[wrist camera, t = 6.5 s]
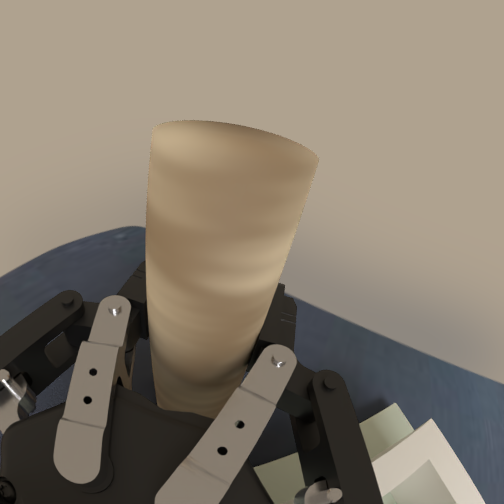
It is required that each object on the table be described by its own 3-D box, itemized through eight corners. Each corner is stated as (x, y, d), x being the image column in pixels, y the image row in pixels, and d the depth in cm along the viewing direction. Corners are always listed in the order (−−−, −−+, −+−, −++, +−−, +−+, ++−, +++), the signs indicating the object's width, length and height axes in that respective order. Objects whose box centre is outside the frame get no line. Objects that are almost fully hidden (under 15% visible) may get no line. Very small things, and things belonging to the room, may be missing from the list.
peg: (214, 376, 18) (274, 129, 10) (236, 432, 15) (352, 176, 6) (152, 385, 16) (149, 117, 8) (167, 445, 13) (158, 157, 4)
